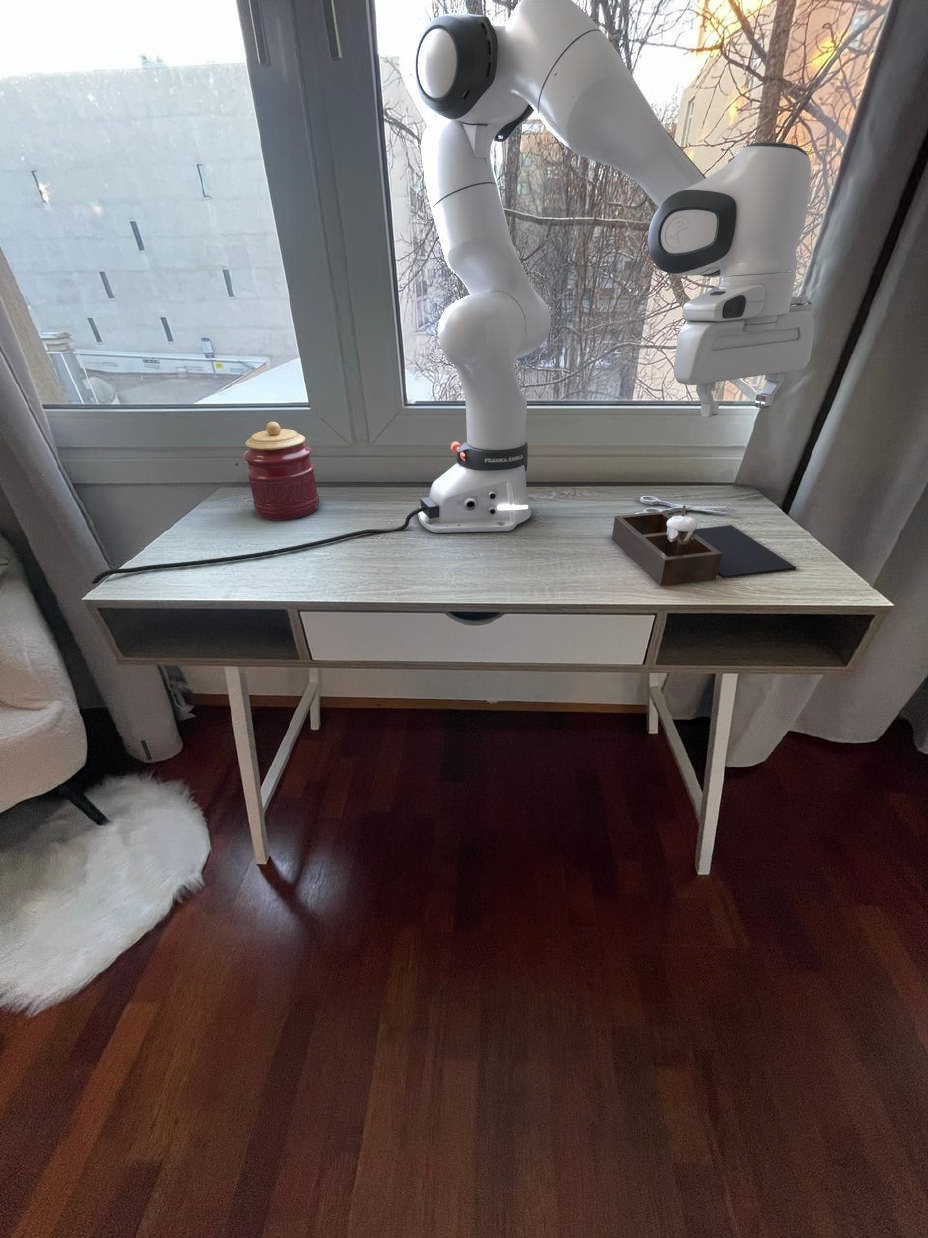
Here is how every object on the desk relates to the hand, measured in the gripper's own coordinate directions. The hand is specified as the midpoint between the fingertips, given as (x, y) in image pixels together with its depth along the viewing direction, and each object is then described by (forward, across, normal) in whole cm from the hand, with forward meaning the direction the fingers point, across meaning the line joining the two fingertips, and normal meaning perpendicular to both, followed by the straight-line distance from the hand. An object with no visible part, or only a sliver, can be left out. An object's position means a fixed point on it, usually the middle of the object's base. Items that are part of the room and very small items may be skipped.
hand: (736, 411), depth 83 cm
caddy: (+24, +4, -8) cm, 26 cm away
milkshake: (+25, +5, -3) cm, 25 cm away
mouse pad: (+25, -8, -6) cm, 27 cm away
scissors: (+24, -13, -24) cm, 36 cm away
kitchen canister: (+20, +61, -56) cm, 85 cm away
